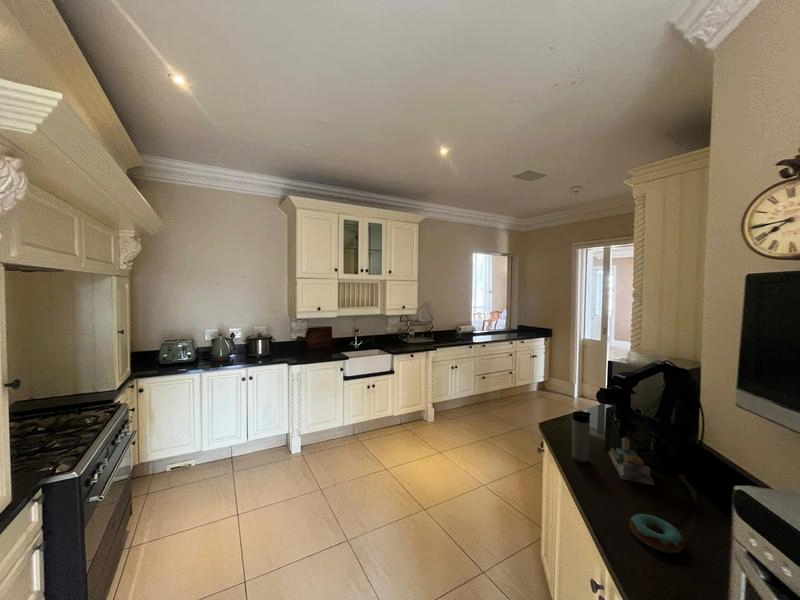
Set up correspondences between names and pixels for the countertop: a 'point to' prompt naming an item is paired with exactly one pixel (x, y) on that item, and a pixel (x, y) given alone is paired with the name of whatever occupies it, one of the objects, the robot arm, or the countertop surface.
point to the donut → (656, 533)
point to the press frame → (631, 470)
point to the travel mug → (580, 436)
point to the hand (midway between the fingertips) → (621, 439)
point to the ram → (624, 449)
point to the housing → (633, 460)
